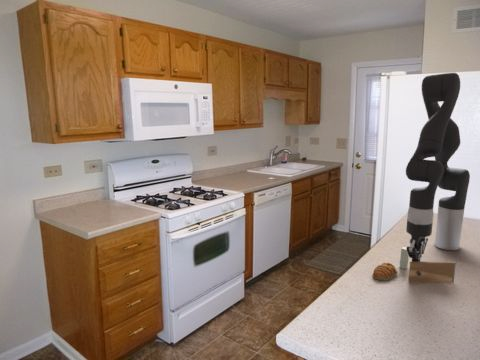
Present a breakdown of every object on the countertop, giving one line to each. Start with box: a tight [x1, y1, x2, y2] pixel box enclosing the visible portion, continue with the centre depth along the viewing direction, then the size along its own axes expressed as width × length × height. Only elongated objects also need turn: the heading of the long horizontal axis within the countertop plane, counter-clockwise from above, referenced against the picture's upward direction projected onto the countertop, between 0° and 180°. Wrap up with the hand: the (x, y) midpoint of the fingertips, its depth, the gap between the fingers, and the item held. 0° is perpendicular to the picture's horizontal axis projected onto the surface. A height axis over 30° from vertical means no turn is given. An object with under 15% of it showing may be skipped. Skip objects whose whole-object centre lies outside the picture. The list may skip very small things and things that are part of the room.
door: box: [408, 261, 455, 284], centre depth 116 cm, size 2×14×7 cm, turn 88°
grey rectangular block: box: [399, 246, 457, 284], centre depth 123 cm, size 2×17×8 cm, turn 45°
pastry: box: [372, 262, 399, 282], centre depth 122 cm, size 9×7×4 cm
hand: (415, 267), depth 120 cm, fingers closed
